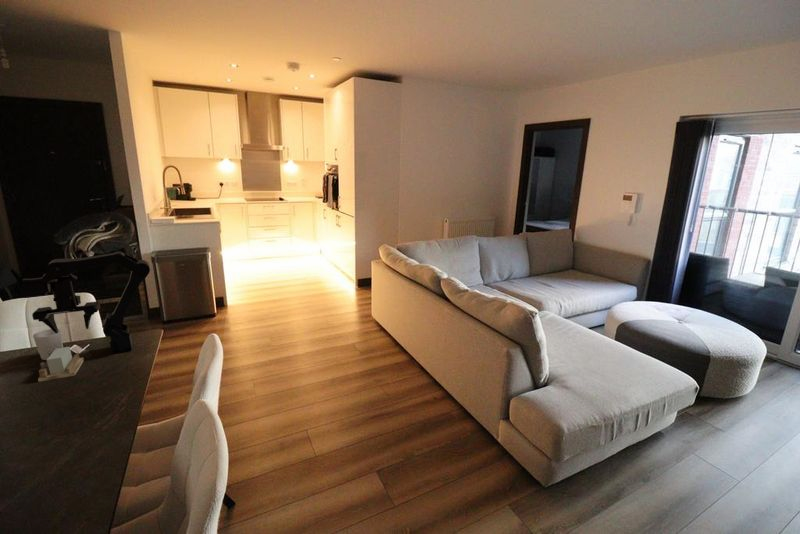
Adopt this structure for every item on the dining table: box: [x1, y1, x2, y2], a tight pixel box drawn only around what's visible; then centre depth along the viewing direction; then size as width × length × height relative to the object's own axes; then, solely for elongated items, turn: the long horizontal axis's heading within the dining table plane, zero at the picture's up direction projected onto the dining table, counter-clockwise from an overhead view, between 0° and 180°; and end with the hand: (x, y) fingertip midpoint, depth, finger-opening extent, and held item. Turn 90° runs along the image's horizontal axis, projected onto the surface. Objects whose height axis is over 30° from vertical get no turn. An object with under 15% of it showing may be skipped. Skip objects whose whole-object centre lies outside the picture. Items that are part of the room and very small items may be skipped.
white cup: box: [32, 328, 64, 361], centre depth 147 cm, size 8×8×10 cm
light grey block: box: [46, 346, 73, 375], centre depth 137 cm, size 4×9×6 cm, turn 26°
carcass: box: [37, 352, 85, 383], centre depth 137 cm, size 10×12×6 cm
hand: (72, 330), depth 143 cm, fingers open, 9 cm apart
